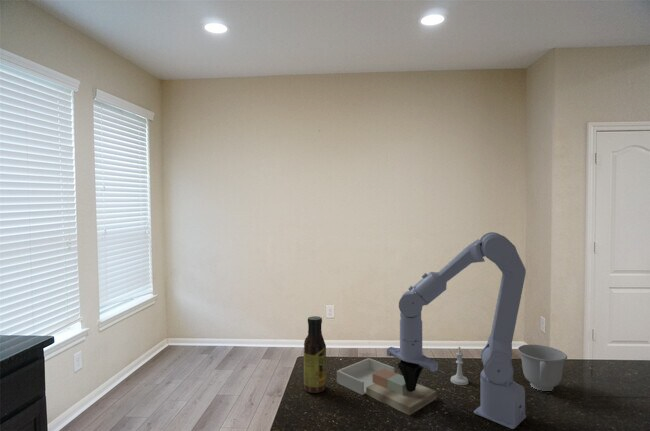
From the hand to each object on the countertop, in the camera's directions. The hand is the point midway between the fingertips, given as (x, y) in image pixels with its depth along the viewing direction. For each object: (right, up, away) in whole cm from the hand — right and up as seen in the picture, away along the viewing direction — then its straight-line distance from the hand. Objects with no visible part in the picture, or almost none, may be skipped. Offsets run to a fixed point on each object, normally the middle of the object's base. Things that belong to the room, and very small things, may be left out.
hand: (411, 390), depth 97 cm
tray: (-11, -3, +12) cm, 16 cm away
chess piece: (+17, -3, +11) cm, 20 cm away
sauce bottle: (-25, -3, +7) cm, 26 cm away
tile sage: (-2, -1, +3) cm, 4 cm away
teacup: (+38, -3, +6) cm, 38 cm away
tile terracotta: (-6, -1, +6) cm, 9 cm away
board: (-2, -3, +2) cm, 4 cm away
